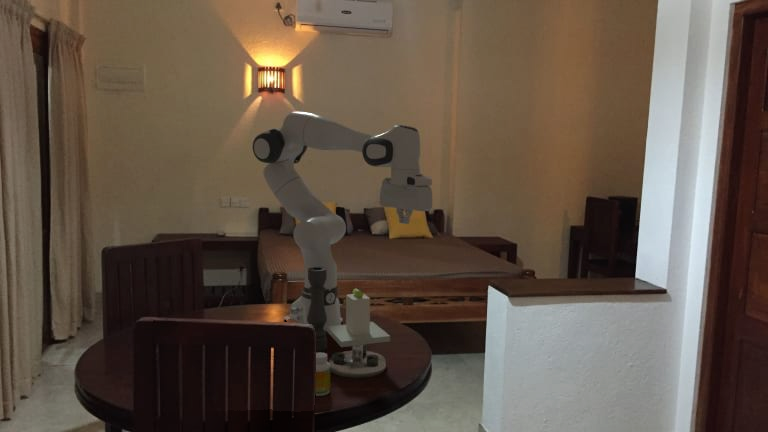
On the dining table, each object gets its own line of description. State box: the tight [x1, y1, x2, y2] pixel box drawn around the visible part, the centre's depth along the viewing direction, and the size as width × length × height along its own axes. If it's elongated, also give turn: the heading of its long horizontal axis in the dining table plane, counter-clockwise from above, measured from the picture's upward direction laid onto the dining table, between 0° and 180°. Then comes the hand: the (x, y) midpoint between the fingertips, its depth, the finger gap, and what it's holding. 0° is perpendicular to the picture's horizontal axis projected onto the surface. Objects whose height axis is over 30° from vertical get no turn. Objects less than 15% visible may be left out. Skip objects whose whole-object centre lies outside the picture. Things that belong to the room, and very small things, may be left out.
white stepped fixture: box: [326, 288, 391, 348], centre depth 158 cm, size 14×14×13 cm
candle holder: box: [307, 267, 328, 353], centre depth 173 cm, size 6×6×25 cm
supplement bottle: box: [315, 351, 331, 397], centre depth 142 cm, size 5×5×10 cm
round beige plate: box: [328, 344, 387, 379], centre depth 159 cm, size 16×16×8 cm
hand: (404, 223), depth 174 cm, fingers closed
